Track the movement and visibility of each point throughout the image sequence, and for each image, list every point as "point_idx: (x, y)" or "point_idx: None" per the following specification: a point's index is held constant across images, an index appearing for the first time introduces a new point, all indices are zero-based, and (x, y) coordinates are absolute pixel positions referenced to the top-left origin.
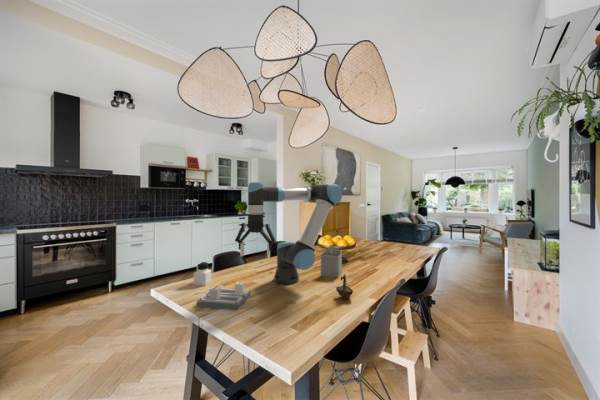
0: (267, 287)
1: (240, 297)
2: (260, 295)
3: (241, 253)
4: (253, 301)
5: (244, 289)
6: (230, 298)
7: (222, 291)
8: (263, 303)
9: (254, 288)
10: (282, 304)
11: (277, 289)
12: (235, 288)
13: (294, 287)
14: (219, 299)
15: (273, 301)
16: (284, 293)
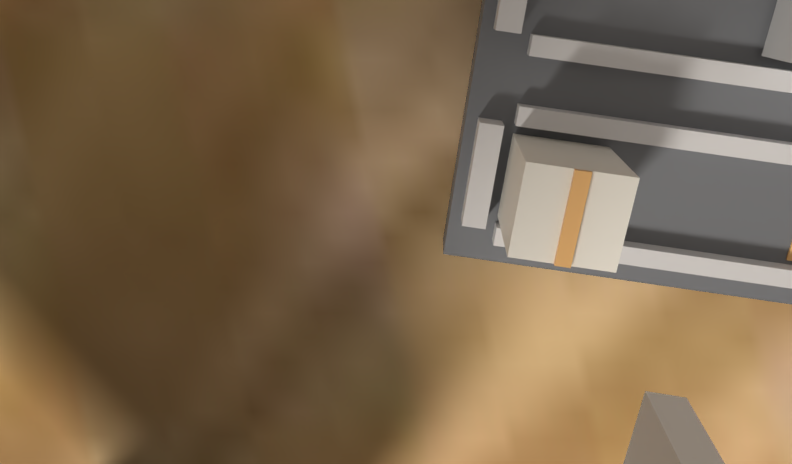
0: (299, 431)
1: (514, 2)
2: (332, 231)
3: (682, 445)
4: (377, 78)
5: (504, 205)
6: (639, 43)
7: (773, 245)
8: (259, 29)
9: (433, 407)
10: (52, 8)
11: (184, 380)
12: (616, 163)
13: (19, 428)
14: (769, 11)
15: (163, 82)
16: (90, 282)
